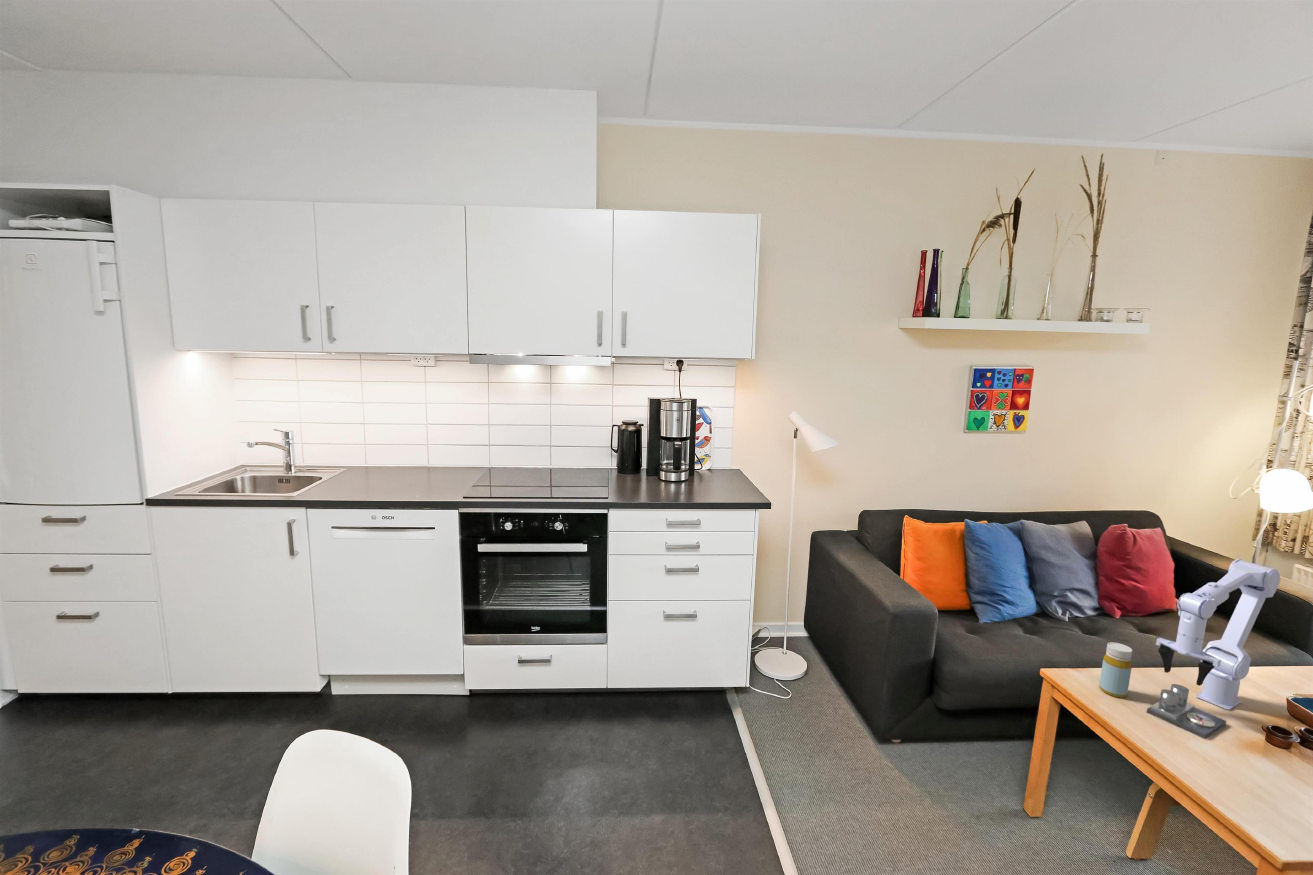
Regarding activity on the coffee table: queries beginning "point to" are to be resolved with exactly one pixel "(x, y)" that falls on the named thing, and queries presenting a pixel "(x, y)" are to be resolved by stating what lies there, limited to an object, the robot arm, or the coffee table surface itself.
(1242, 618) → the robot arm
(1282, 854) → the coffee table surface
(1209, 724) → the scale
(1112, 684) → the bottle
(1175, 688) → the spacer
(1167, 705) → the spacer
